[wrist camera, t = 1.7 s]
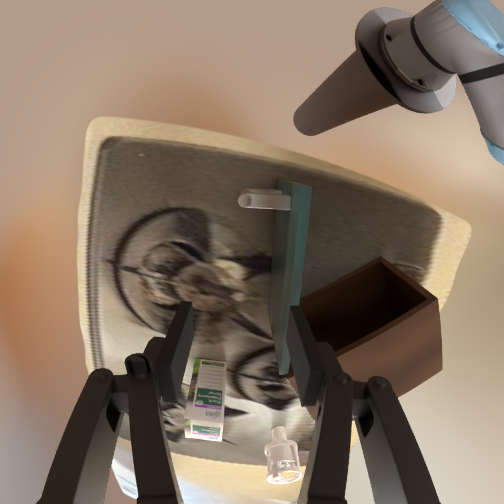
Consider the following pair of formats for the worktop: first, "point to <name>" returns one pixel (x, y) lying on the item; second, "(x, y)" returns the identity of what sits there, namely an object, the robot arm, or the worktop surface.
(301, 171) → the worktop surface
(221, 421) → the syrup box
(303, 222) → the cupboard door
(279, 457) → the white slotted fitting
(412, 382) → the cupboard
